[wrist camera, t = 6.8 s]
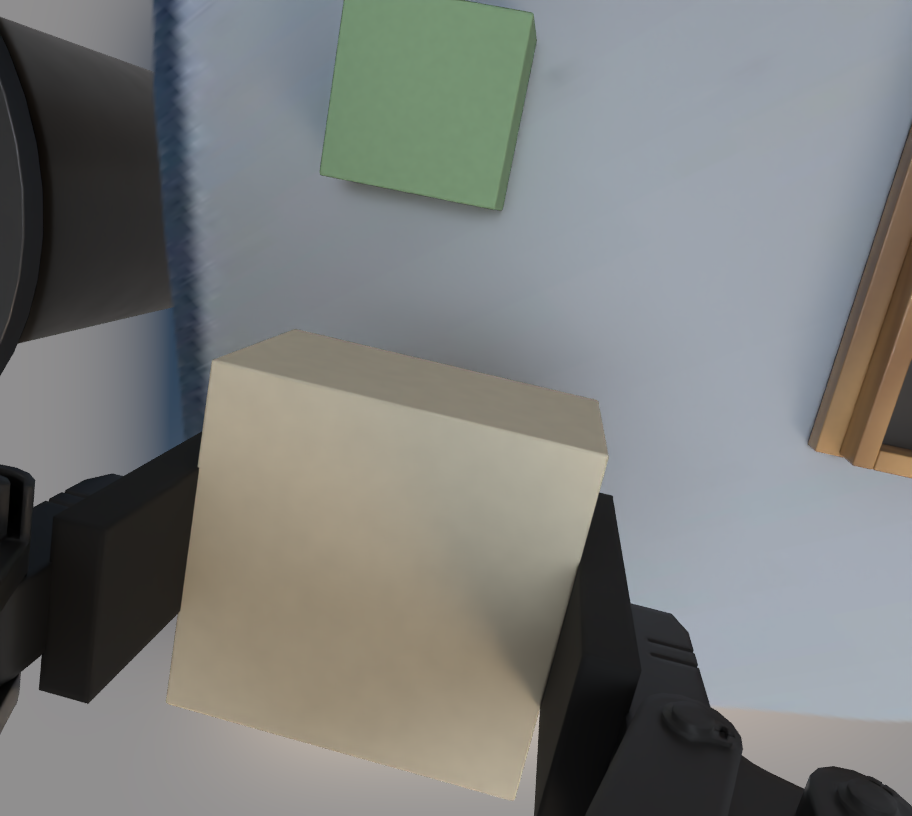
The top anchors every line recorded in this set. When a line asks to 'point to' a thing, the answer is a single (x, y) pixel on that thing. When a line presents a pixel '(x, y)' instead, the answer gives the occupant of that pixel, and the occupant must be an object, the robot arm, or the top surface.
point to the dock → (876, 350)
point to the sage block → (429, 97)
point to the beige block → (383, 554)
